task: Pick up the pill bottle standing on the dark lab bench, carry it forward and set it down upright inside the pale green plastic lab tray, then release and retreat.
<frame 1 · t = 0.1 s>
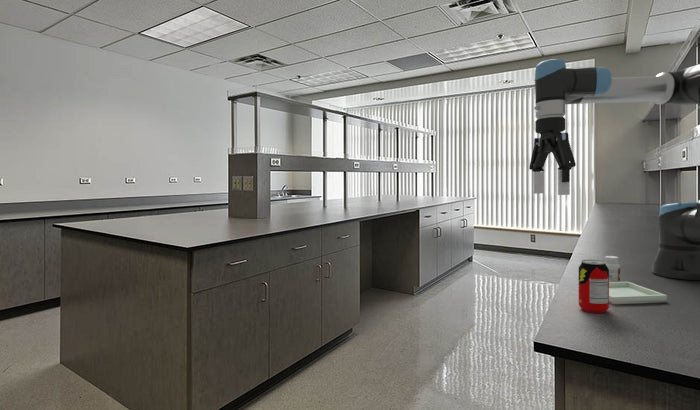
hand: (550, 194, 112), 28 cm above the counter, fingers open, 13 cm apart
pill bottle: (611, 282, 122), on the counter
beverage can: (593, 310, 97), on the counter
tray: (620, 295, 108), on the counter
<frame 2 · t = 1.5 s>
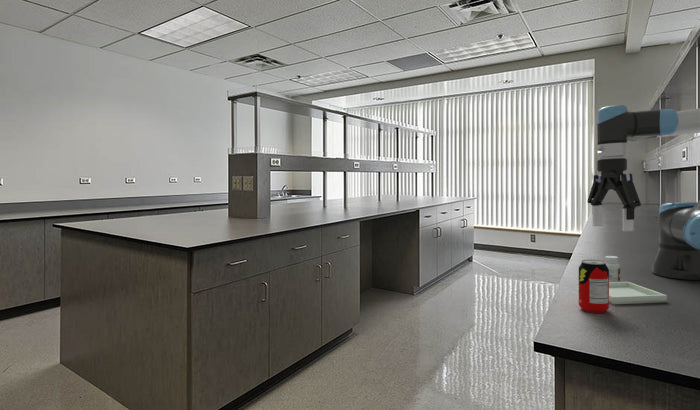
hand: (611, 228, 121), 16 cm above the counter, fingers open, 13 cm apart
nothing on the counter moved.
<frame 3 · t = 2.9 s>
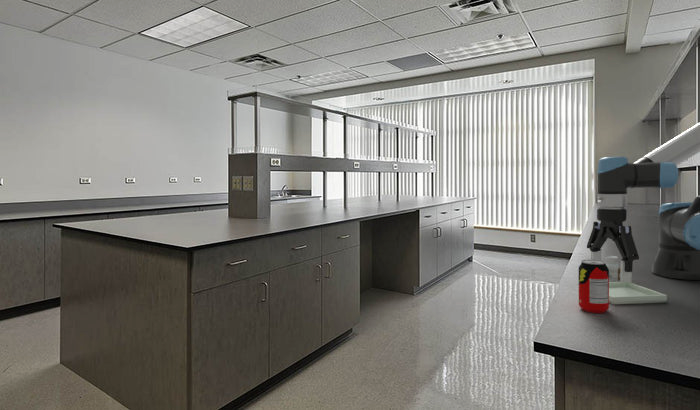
hand: (610, 276, 122), 1 cm above the counter, fingers open, 13 cm apart
nothing on the counter moved.
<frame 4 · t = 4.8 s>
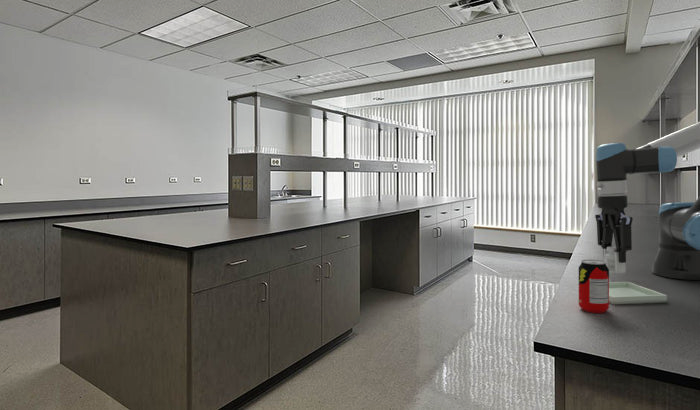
hand: (614, 270, 122), 3 cm above the counter, fingers closed on pill bottle, 4 cm apart
pill bottle: (614, 273, 122), point 3 cm above the counter, touching gripper
everything else where it was.
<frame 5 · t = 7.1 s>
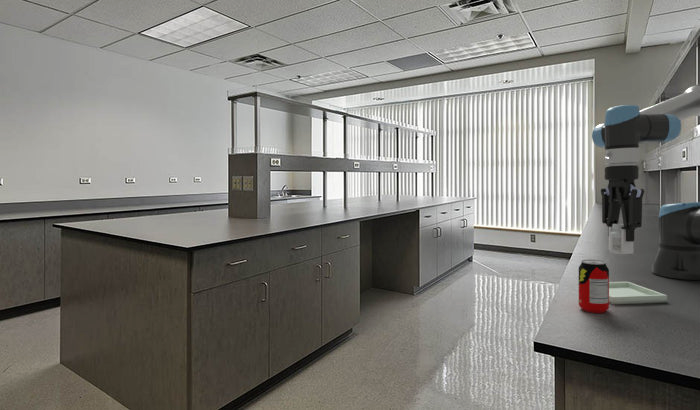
hand: (620, 251, 108), 12 cm above the counter, fingers closed on pill bottle, 4 cm apart
pill bottle: (619, 253, 108), point 11 cm above the counter, touching gripper
everything else where it was.
when the fingers open (1 cm above the counter, at t = 9.5 s): pill bottle stays where it is, resting on tray.
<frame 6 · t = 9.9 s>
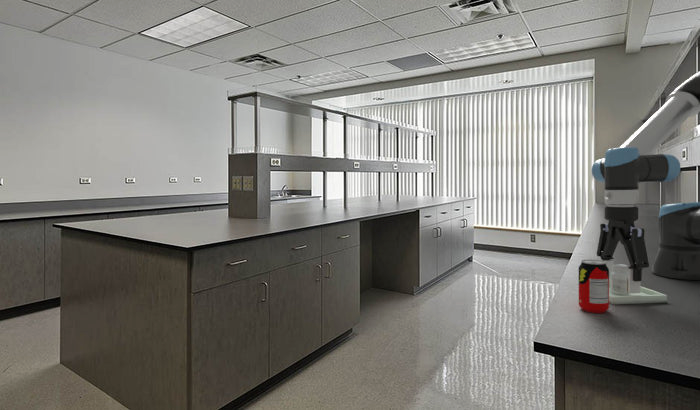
hand: (620, 287, 108), 2 cm above the counter, fingers open, 9 cm apart
pill bottle: (619, 294, 108), resting on tray
everything else where it was.
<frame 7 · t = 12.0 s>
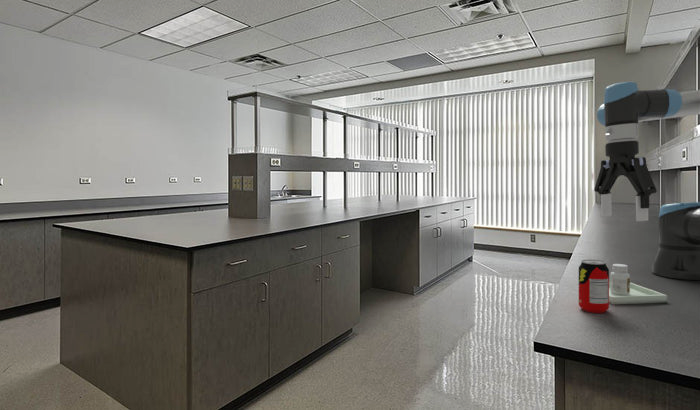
hand: (623, 218, 110), 21 cm above the counter, fingers open, 13 cm apart
nothing on the counter moved.
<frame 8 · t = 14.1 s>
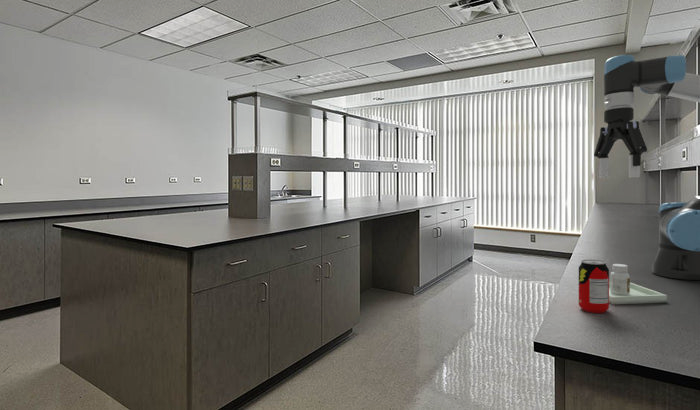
hand: (618, 178, 124), 32 cm above the counter, fingers open, 13 cm apart
nothing on the counter moved.
at the end: pill bottle inside the target area on the tray (0.2 cm from its centre), point 0.4 cm above the tray's base; pill bottle tilted 0°; the gripper is holding nothing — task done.
